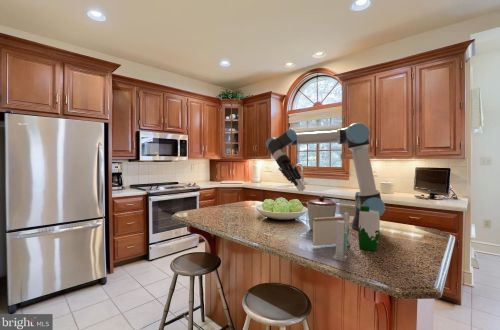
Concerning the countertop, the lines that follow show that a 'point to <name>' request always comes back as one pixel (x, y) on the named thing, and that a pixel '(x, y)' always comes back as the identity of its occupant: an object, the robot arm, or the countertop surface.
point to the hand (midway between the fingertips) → (302, 189)
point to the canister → (320, 209)
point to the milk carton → (368, 228)
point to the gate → (325, 230)
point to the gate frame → (342, 238)
